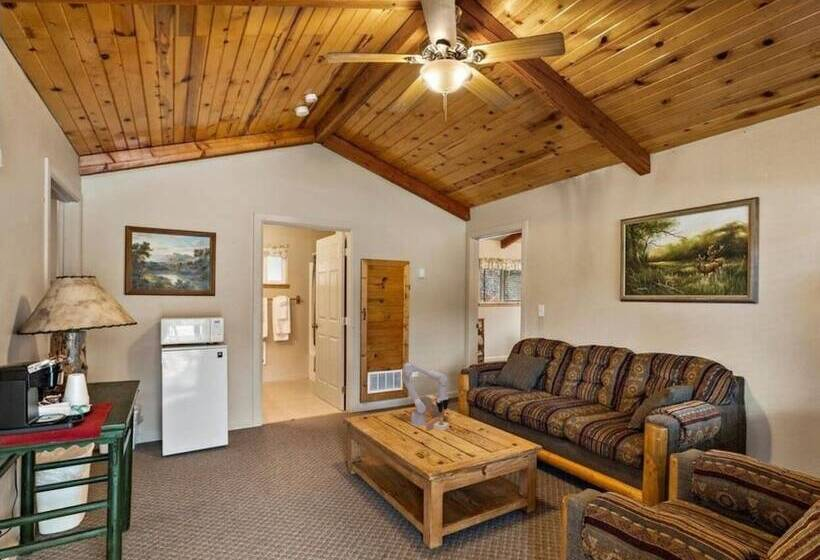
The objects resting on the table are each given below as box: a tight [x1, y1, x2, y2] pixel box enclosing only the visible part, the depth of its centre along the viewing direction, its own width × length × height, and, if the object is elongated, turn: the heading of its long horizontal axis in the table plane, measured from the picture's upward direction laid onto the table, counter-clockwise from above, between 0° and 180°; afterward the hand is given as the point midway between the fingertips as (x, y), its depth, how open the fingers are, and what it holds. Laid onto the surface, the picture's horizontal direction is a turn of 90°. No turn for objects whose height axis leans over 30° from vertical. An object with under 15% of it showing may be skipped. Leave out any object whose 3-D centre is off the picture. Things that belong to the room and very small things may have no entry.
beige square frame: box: [433, 421, 450, 431], centre depth 291 cm, size 8×8×2 cm
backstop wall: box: [426, 415, 443, 432], centre depth 294 cm, size 2×20×5 cm, turn 150°
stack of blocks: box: [423, 394, 446, 417], centre depth 327 cm, size 21×6×12 cm, turn 27°
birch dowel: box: [439, 416, 444, 425], centre depth 291 cm, size 2×2×7 cm
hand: (442, 410), depth 301 cm, fingers open, 7 cm apart
